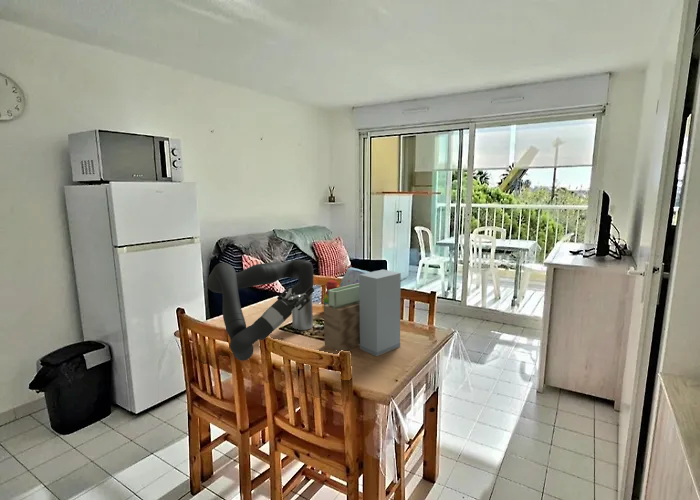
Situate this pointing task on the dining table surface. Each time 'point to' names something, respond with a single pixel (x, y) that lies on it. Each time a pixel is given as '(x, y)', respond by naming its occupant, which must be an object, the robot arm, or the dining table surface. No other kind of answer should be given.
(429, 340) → the dining table surface
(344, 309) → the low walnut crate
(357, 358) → the dining table surface
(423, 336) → the dining table surface
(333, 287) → the stacking bear
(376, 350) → the block
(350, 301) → the sage crate
